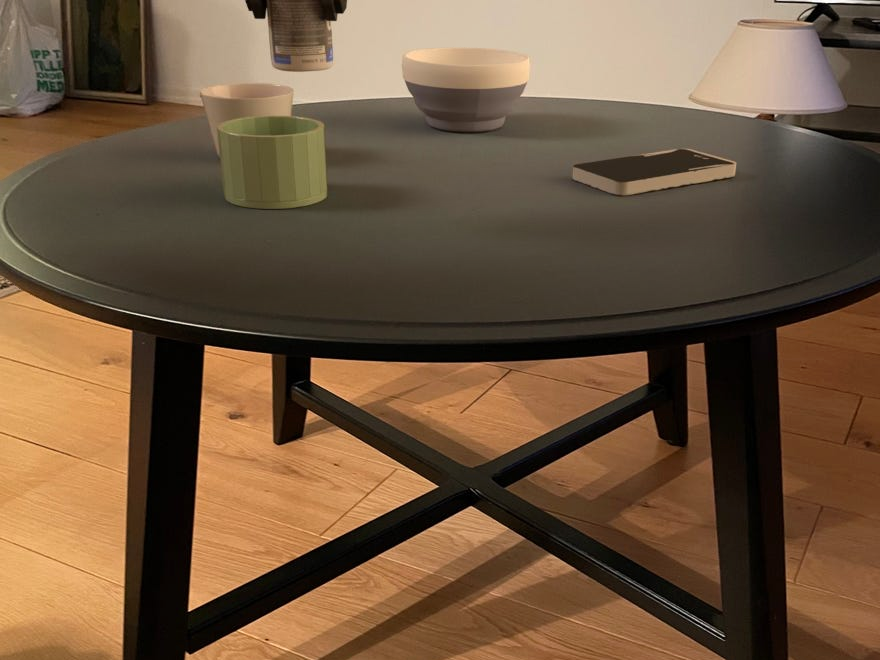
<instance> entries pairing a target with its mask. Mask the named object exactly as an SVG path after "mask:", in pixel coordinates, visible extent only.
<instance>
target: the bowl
mask: <svg viewBox="0 0 880 660" xmlns="http://www.w3.org/2000/svg"><path fill="white" fill-rule="evenodd" d="M530 71H531V62H530V57H529V56H528V55H526V54H525V53H524V54H523V53H522V52H519V51H518V52H517V51H511V50H506V49H497V48H485V47H482V48H481V47H432V48H421V49H415V50H411V51H407V52H405V53H404V54H403V55H402V59H401V73H402V79H403V80H404V83H405V86H406V88H407V91H408V92H409V93H410V95H411V96H412V97H413V100H414V105H416V107H417V108H418V110H419V111H420V112H422V113H423V114H424V117H425V121H426V123H427V124H428V126H430V127H432V128H433V129H436V130H439V131H443V132H451V133H465V134H466V133H472V134H475V133H485V132H491V131H494V130H495V131H496V130H498V129H499V128H501V127H502V126H503V125H504V124H505V121H506V116H507V115H509V114H510V113H511V112H512V111H513V110H514V109H515V108H516V106H517V102H518V100H519V98H520V97H521V96H522V95H523V93H524V92H525V89H526V86H527V84H528V82H529V79H530Z"/></svg>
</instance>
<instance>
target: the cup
mask: <svg viewBox="0 0 880 660" xmlns="http://www.w3.org/2000/svg"><path fill="white" fill-rule="evenodd" d="M217 134H218V144H219V154H220V157H219V163H220V172H221V181H222V183H221V184H222V189H223V190H222V191H223V195H224V200H226V202H228V203H230V204H232V205H235V206H238V207H241V208H247V209H257V210H284V209H285V210H286V209H293V208H296V209H297V208H302V207H307V206H311V205H314V204H318V203H320V202H322V201H325V199H326V198H327V197H328V187H329V184H328V183H329V182H328V168H327V167H328V166H327V148H326V147H327V146H326V129H325V123H323V121H320V120H318V119H314V118H311V117H304V116H296V115H291V116H277V115H269V116H253V117H252V116H251V117H243V118H237V119H232V120H228V121H225V122H223V123H220V124H219V125H218V126H217Z"/></svg>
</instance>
